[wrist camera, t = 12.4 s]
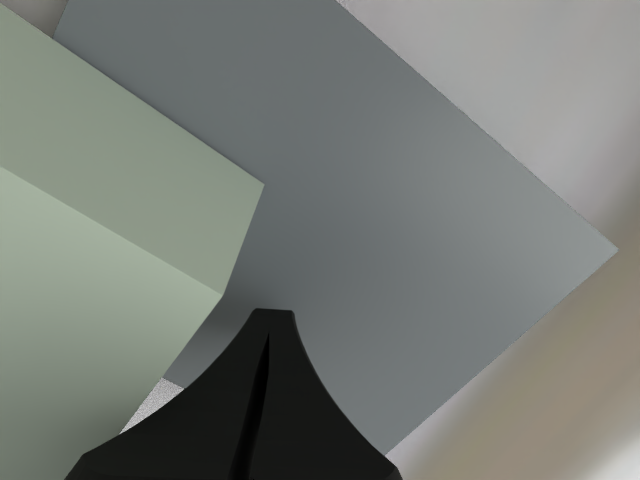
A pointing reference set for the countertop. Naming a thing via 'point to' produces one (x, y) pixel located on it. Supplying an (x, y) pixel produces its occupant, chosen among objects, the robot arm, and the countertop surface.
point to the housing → (97, 250)
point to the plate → (348, 197)
